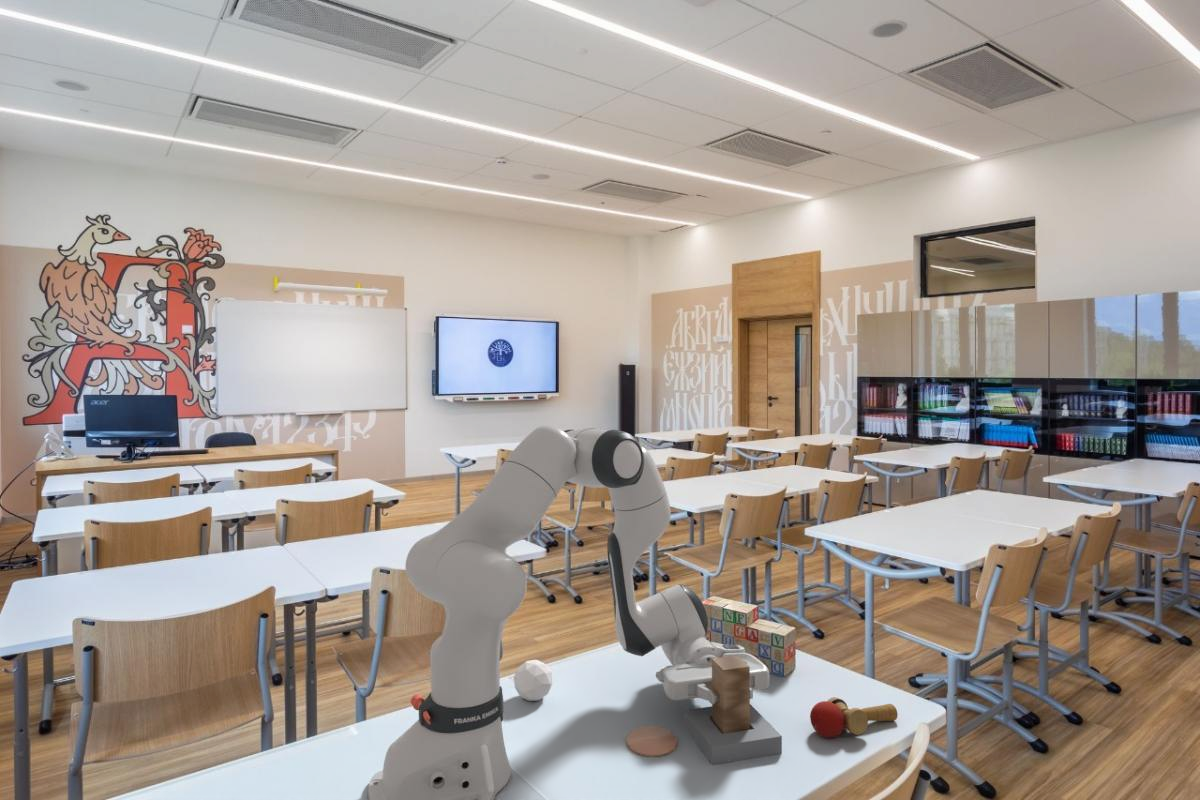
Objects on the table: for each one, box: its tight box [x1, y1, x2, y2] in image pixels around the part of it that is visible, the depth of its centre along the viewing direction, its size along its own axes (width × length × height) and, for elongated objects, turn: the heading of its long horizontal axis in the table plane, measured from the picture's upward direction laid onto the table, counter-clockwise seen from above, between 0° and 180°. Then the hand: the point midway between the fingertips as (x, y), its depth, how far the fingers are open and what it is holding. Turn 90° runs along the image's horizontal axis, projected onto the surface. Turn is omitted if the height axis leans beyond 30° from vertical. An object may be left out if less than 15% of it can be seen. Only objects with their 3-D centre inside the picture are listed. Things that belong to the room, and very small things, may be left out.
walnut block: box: [711, 655, 751, 734], centre depth 122 cm, size 5×5×14 cm
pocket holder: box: [683, 703, 783, 765], centre depth 122 cm, size 13×13×3 cm
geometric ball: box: [513, 659, 553, 702], centre depth 139 cm, size 8×8×8 cm
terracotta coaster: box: [626, 725, 678, 758], centre depth 122 cm, size 9×9×1 cm
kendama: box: [809, 696, 899, 739], centre depth 126 cm, size 8×6×18 cm
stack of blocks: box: [701, 596, 797, 678], centre depth 156 cm, size 21×6×12 cm, turn 50°
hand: (732, 697), depth 121 cm, fingers closed on walnut block, 5 cm apart
